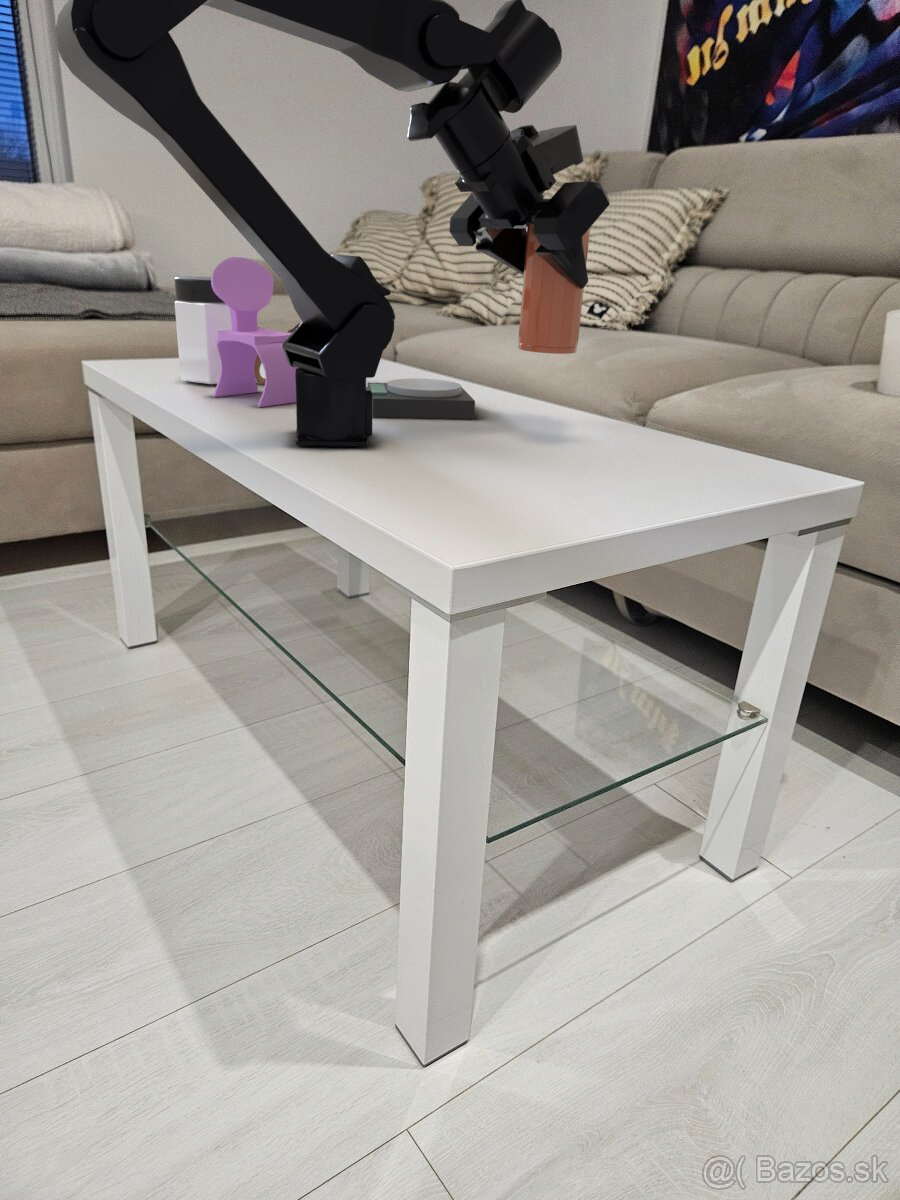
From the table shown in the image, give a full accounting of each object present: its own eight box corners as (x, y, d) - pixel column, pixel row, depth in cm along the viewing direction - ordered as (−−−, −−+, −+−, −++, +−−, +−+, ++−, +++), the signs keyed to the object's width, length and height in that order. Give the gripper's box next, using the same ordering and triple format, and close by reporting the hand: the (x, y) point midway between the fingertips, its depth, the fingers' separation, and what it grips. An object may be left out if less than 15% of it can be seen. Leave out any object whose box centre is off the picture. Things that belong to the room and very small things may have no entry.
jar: (192, 385, 100) (184, 279, 95) (170, 376, 106) (161, 275, 101) (262, 381, 105) (257, 280, 100) (236, 372, 111) (231, 277, 106)
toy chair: (255, 409, 89) (248, 259, 83) (205, 397, 94) (195, 255, 88) (312, 401, 95) (309, 261, 89) (262, 390, 100) (257, 257, 94)
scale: (372, 417, 88) (373, 390, 87) (367, 399, 98) (367, 375, 97) (474, 419, 90) (475, 393, 89) (458, 401, 100) (459, 377, 99)
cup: (555, 355, 83) (569, 212, 78) (506, 348, 86) (517, 211, 81) (587, 352, 87) (602, 216, 82) (539, 345, 90) (551, 215, 85)
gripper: (607, 72, 68) (679, 227, 78) (481, 98, 83) (555, 226, 93) (523, 169, 67) (607, 313, 77) (410, 178, 82) (493, 299, 92)
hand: (563, 283), depth 85 cm, fingers closed on cup, 6 cm apart
